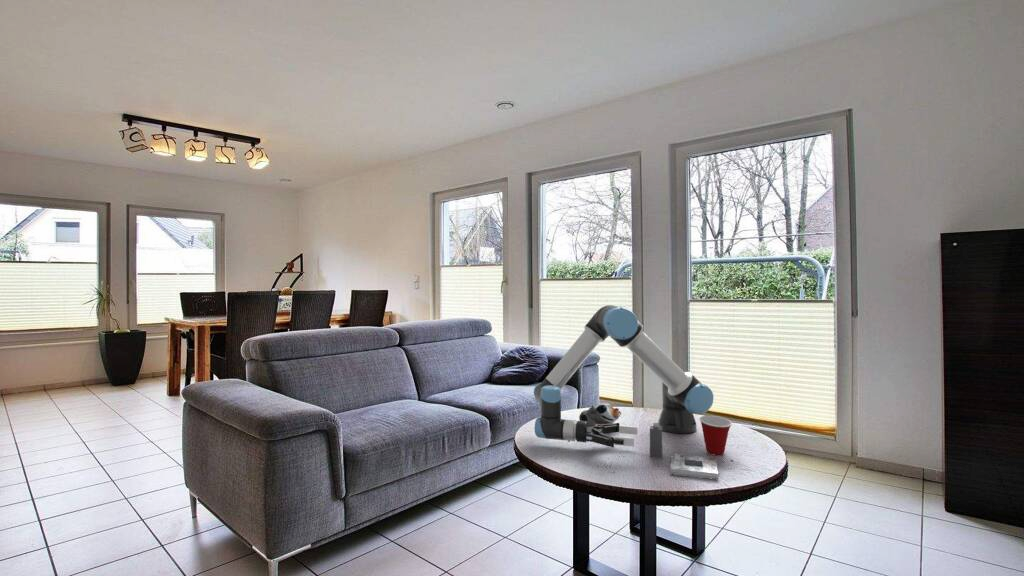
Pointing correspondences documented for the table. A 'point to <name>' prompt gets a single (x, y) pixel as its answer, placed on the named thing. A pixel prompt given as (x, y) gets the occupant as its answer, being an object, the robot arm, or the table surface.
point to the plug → (656, 441)
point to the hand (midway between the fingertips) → (635, 436)
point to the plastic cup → (715, 433)
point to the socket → (693, 466)
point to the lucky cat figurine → (600, 414)
